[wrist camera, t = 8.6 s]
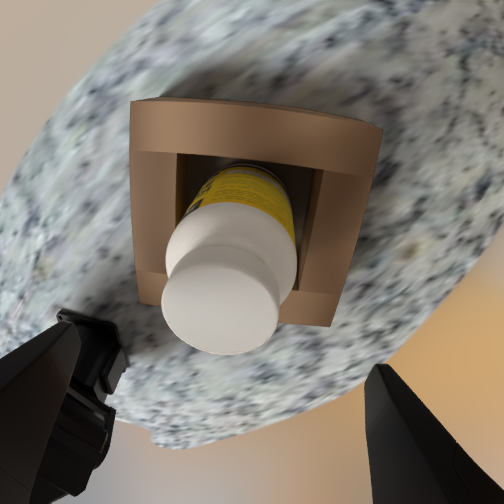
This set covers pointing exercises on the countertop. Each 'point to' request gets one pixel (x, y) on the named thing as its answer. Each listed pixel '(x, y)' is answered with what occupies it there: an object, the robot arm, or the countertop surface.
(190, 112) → the socket block
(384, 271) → the countertop surface
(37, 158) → the countertop surface
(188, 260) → the supplement bottle
